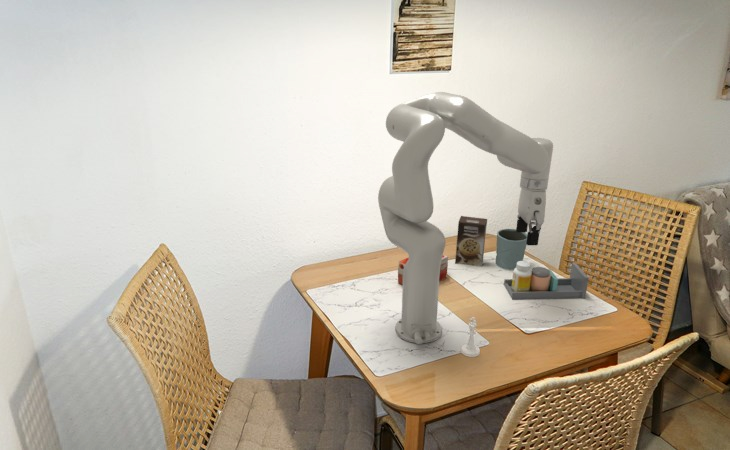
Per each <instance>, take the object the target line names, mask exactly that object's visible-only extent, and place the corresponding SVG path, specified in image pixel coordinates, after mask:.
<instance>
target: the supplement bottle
mask: <svg viewBox="0 0 730 450" xmlns="http://www.w3.org/2000/svg"><path fill="white" fill-rule="evenodd" d="M531 271H532V269H531V263H530V262H529V261H525V260H523V261H518V262H517V265H516V268H515V269H514V270H513V271H512V278H511V279H512V287H511V290H512V292H529V290H530V283H531V275H532V272H531Z"/></svg>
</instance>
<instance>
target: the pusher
mask: <svg viewBox="0 0 730 450" xmlns="http://www.w3.org/2000/svg"><path fill="white" fill-rule="evenodd" d="M547 269H548V270H549V271H550V274H551V278H550V285H549V291H557V284H558V277H557V276H556V275H555V273H554V272H553V271H552V270H551V268H547Z"/></svg>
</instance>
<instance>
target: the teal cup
mask: <svg viewBox="0 0 730 450" xmlns="http://www.w3.org/2000/svg"><path fill="white" fill-rule="evenodd" d="M527 234H528V233H527V232H516V228H502V229H499V230H497V233H496V252H495V253H496V255H495V265H496V266H497V267H499V268H501V269H503V270H509V271H510V270H511V271H512V270H513V271H514V269H515V268H516V265H517V262H518V261H524V258H525V254H526V253H525V251H526V249H527V246H528V245H527V244H526V242H527Z"/></svg>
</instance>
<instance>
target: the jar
mask: <svg viewBox="0 0 730 450" xmlns="http://www.w3.org/2000/svg"><path fill="white" fill-rule="evenodd" d="M548 269H549V268H546V267H544V266H543V267H542V266H535V267H532V269H531V272H532V275H531V283H530V290H529V292H536V291H549V285H550V278H551V274H550V271H549V270H548Z"/></svg>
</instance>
